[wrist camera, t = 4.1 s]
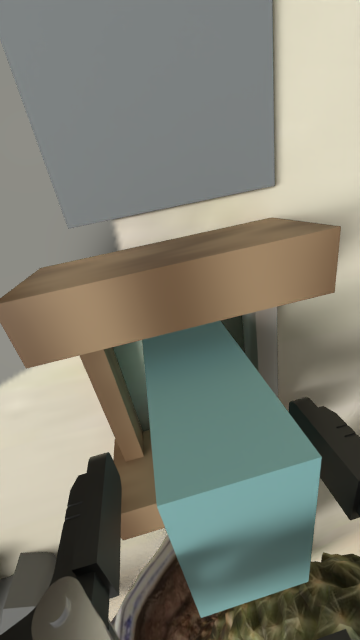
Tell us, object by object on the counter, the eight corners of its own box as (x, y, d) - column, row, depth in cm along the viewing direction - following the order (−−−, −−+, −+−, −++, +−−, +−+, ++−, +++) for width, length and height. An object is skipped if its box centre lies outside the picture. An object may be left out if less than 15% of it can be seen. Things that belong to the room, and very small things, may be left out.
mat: (264, -155, 8) (270, -171, 8) (270, 186, 13) (274, 185, 12) (-55, -124, 8) (-64, -140, 7) (70, 227, 12) (68, 228, 12)
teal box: (208, 303, 15) (323, 456, 6) (221, 393, 18) (309, 581, 9) (139, 320, 15) (154, 507, 6) (164, 408, 18) (199, 618, 9)
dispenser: (271, 217, 13) (341, 226, 9) (274, 419, 20) (316, 481, 16) (40, 268, 13) (-10, 305, 8) (124, 461, 19) (122, 540, 15)
